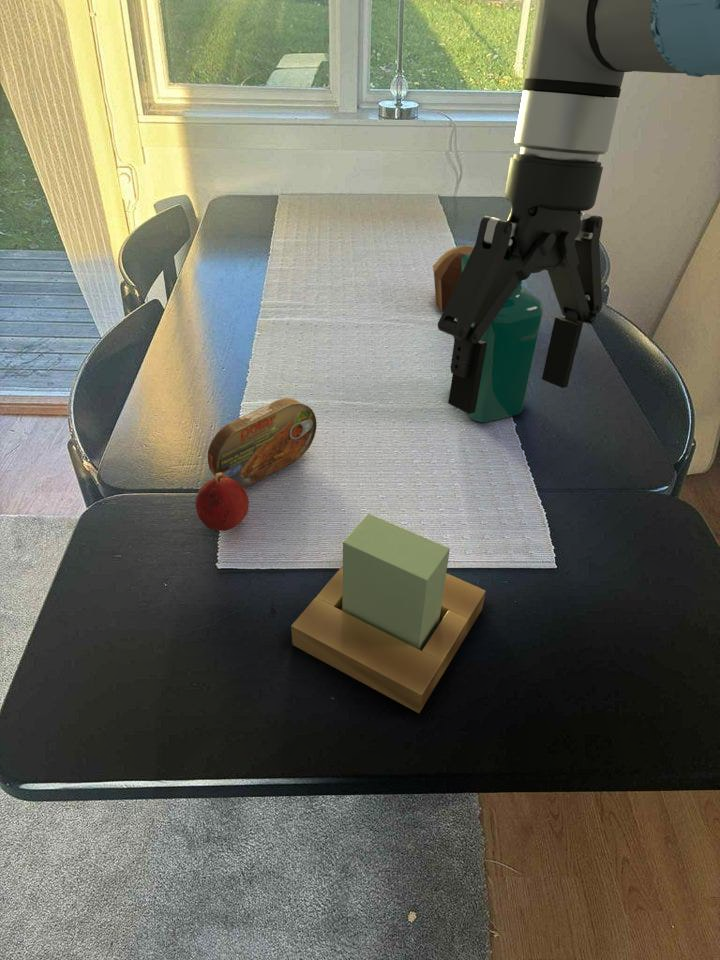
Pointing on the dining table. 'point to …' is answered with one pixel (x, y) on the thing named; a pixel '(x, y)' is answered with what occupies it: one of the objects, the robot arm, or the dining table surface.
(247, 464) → the tin
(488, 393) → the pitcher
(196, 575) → the dining table surface
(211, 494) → the onion
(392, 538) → the pale green block
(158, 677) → the dining table surface
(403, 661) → the mount block
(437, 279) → the brown wooden arched block
